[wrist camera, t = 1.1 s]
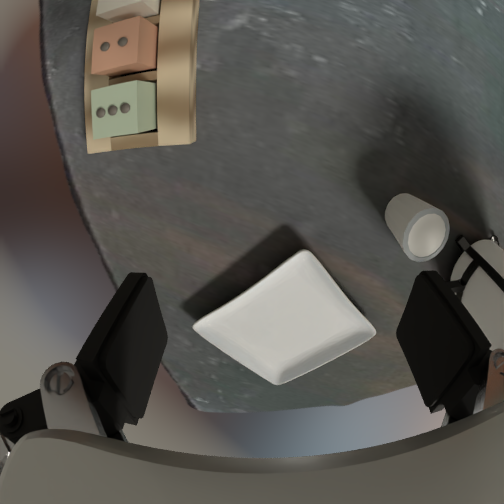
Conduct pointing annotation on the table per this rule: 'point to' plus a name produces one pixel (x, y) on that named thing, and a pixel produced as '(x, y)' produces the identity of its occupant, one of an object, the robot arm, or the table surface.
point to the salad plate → (287, 321)
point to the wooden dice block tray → (155, 79)
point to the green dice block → (123, 109)
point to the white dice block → (127, 9)
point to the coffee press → (482, 286)
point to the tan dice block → (124, 47)
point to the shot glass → (417, 226)
